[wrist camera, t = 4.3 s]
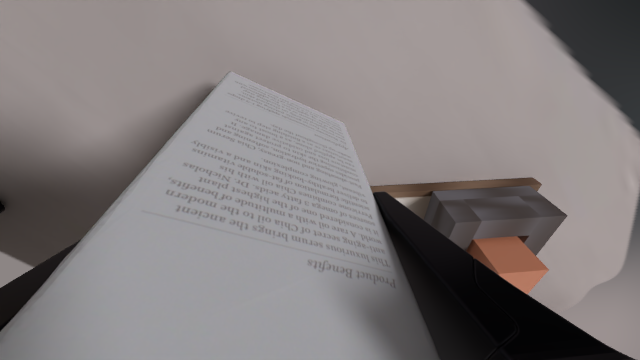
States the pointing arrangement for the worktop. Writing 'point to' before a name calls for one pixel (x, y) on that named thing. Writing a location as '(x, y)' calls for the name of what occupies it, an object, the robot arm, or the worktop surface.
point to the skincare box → (233, 251)
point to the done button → (509, 260)
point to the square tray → (482, 209)
